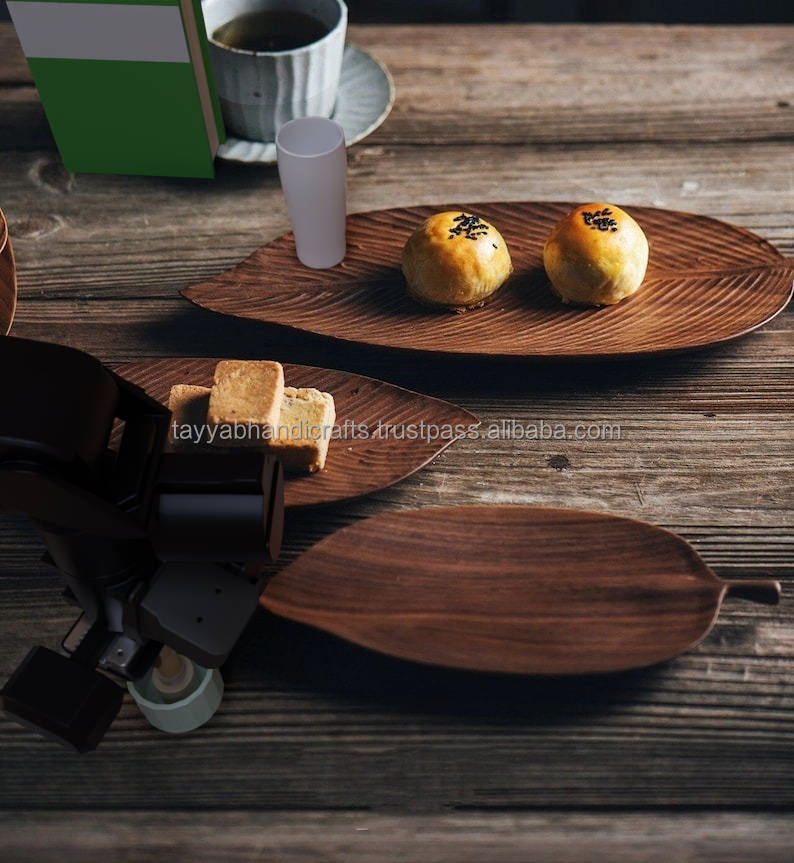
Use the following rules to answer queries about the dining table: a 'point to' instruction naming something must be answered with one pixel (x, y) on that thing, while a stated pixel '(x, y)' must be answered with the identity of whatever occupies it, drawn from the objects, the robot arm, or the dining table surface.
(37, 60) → the hardback book
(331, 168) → the drinking glass
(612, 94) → the dining table surface
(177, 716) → the cup
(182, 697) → the brush
